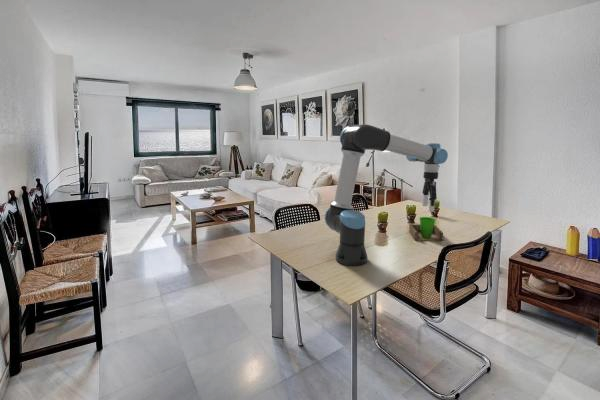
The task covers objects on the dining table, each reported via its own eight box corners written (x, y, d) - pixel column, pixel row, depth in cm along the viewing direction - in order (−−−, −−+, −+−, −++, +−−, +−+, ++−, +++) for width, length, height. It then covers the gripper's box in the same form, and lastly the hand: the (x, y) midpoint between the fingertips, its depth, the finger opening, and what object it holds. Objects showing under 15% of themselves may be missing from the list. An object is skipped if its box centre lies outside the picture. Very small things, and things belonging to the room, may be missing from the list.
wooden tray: (414, 240, 184) (415, 232, 183) (408, 232, 199) (409, 224, 198) (442, 241, 182) (443, 232, 181) (434, 232, 198) (435, 224, 197)
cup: (435, 236, 190) (437, 218, 187) (432, 240, 182) (434, 221, 180) (419, 233, 194) (421, 216, 192) (416, 238, 187) (417, 219, 185)
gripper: (445, 174, 168) (441, 214, 172) (431, 169, 192) (429, 204, 196) (430, 174, 169) (426, 213, 173) (418, 168, 193) (416, 203, 197)
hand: (427, 208), depth 185 cm, fingers open, 13 cm apart
